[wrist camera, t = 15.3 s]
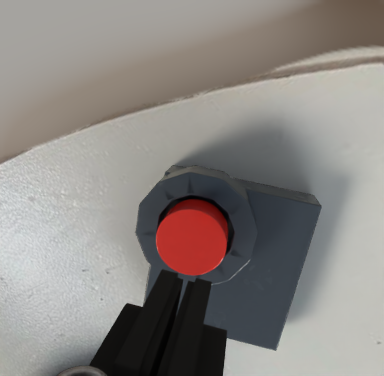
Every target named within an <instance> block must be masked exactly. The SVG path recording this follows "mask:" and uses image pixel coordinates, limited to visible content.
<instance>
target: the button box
mask: <svg viewBox="0 0 384 376" xmlns="http://www.w3.org/2000/svg"><path fill="white" fill-rule="evenodd" d="M189 199H199V200H204V201H207V202H209V203H211V204H213V205H214V206H215V207H217V208H218V209H219V210H220V211H221V212H222V214H223V215H224V217H225V219H226V221H227V225H228V240H227V248H226V253H225V256H224V258H223V260H222V261H221V263H220V264H219V265H218V266H217V267H216V268H215V269H213V270H211V271H210V272H207V273H205V274H201V275H186V274H182V273H179V272H177V271H175V270H173V269H172V268H170V267H169V266H168V265H167V264H166V263H165V262H164V261H163V260H162V258H161V256H160V255H159V252H158V250H157V246H156V234H157V230H158V227H159V225H160V224H161V222H162V221H163V219H164V218H165V216H166V215H167V213H168V212H169V211H170V209H171V208H172V207H173V206H175V205H176V204H178V203H179V202H182V201H184V200H189ZM320 211H321V205H320V203H319V202H318V200H317V199H316V197H315V196H314V195H311V194H306V193H301V192H297V191H292V190H288V189H283V188H278V187H274V186H269V185H264V184H260V183H255V182H251V181H246V180H241V179H237V178H232V177H230V176H229V175H228V174H227V173H225V172H223V171H219V170H214V169H209V168H205V167H200V166H191V167H188V168H186V167H181V166H176V165H172V166H171V167H170V168H169V169H168V170H167V171H166V172H165V175H164V177H163V178H162V179H161V180H160V181H159V182H158V183H157V184H156V186H155V187H154V188H153V189H152V190H151V191H150V193H149V194H148V195H147V196H146V197H145V198H144V200H143V201H142V202H141V203H140V205H139V210H138V217H137V224H136V231H135V233H136V236H137V238H138V241H139V243H140V246H141V248H142V251H143V253H144V256H145V258H146V260H147V261H148V262H149V263H150V267H149V273H148V279H147V285H146V291H145V297H144V303H145V301H146V299H147V297H148V295H149V293H150V291H151V289H152V288H153V286H154V284H155V282H156V280H157V278H158V276H159V274H160V272H161V270H162V269H164V270H168V271H172V272H176V273H178V278H181V279H183V286H182V291H181V296H180V301H179V306H178V310H179V307H180V304H181V301H182V298H183V295H184V292H185V289H186V286H187V283H188V281H192V282H195V279H196V278H199V279H203V280H207V281H211V282H212V285H211V290H210V295H209V300H208V304H207V309H206V314H205V319H204V324H206V325H210V326H214V327H217V328H221V329H225V330H227V338H229V339H233V340H237V341H240V342H244V343H248V344H252V345H256V346H259V347H263V348H267V349H271V350H274V351H276V350H277V347H278V344H279V341H280V338H281V334H282V331H283V328H284V325H285V322H286V319H287V315H288V312H289V309H290V306H291V303H292V299H293V296H294V293H295V290H296V287H297V284H298V280H299V277H300V274H301V271H302V268H303V265H304V261H305V258H306V255H307V252H308V249H309V245H310V242H311V239H312V236H313V233H314V230H315V226H316V223H317V220H318V217H319V214H320ZM144 303H143V305H144ZM177 313H178V311H177Z"/></svg>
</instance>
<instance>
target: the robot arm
mask: <svg viewBox="0 0 384 376" xmlns="http://www.w3.org/2000/svg"><path fill="white" fill-rule="evenodd" d="M211 285H212V282H211V281H207V280H203V279H199V278H196V279H195V282H192V281H188V283H187V286H186V289H185V292H184V295H183V298H182V301H181V304H180V307H179V310H178V306H179V301H180V296H181V291H182V286H183V279H181V278H178V273H176V272H172V271H168V270H164V269H162V270H161V272H160V274H159V276H158V278H157V280H156V282H155V284H154V286H153V288H152V289H151V291H150V293H149V295H148V297H147V299H146V301H145V303H144V305H143V307H140V306H137V305H133V304H129V303H127V304H126V305H125V306H124V308H123V309H122V311H121V313H120V314H119V316H118V318H117V319H116V321H115V323H114V324H113V326H112V328H111V329H110V331H109V333H108V334H107V336H106V338H105V339H104V341H103V343H102V344H101V346H100V348H99V349H98V351H97V353H96V354H95V356H94V358H93V359H92V361H91V363H90V364H89V366H77V367H72V368H69V369H67V370H65V371H63V372H61V373H59V374H58V375H57V376H223V369H224V359H225V349H226V340H227V330H225V329H221V328H217V327H214V326H210V325H206V324H204V319H205V314H206V309H207V304H208V300H209V295H210V290H211ZM177 311H178V313H177Z"/></svg>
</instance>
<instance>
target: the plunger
mask: <svg viewBox="0 0 384 376" xmlns="http://www.w3.org/2000/svg"><path fill="white" fill-rule="evenodd" d="M227 240H228V225H227V221H226V219H225V217H224V215H223V214H222V212H221V211H220V210H219V209H218V208H217V207H215V206H214V205H213V204H211V203H209V202H207V201H204V200H199V199H189V200H184V201H182V202H179V203H178V204H176V205H175V206H173V207H172V208H171V209H170V211H169V212H168V213H167V215H166V216H165V218H164V219H163V221H162V222H161V224H160V225H159V227H158V230H157V234H156V246H157V250H158V252H159V255H160V256H161V258H162V260H163V261H164V262H165V263H166V264H167V265H168V266H169V267H170V268H172V269H173V270H175V271H177V272H179V273H182V274H186V275H201V274H205V273H207V272H210V271H211V270H213V269H215V268H216V267H217V266H218V265H219V264H220V263H221V261H222V260H223V258H224V256H225V253H226V248H227Z"/></svg>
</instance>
